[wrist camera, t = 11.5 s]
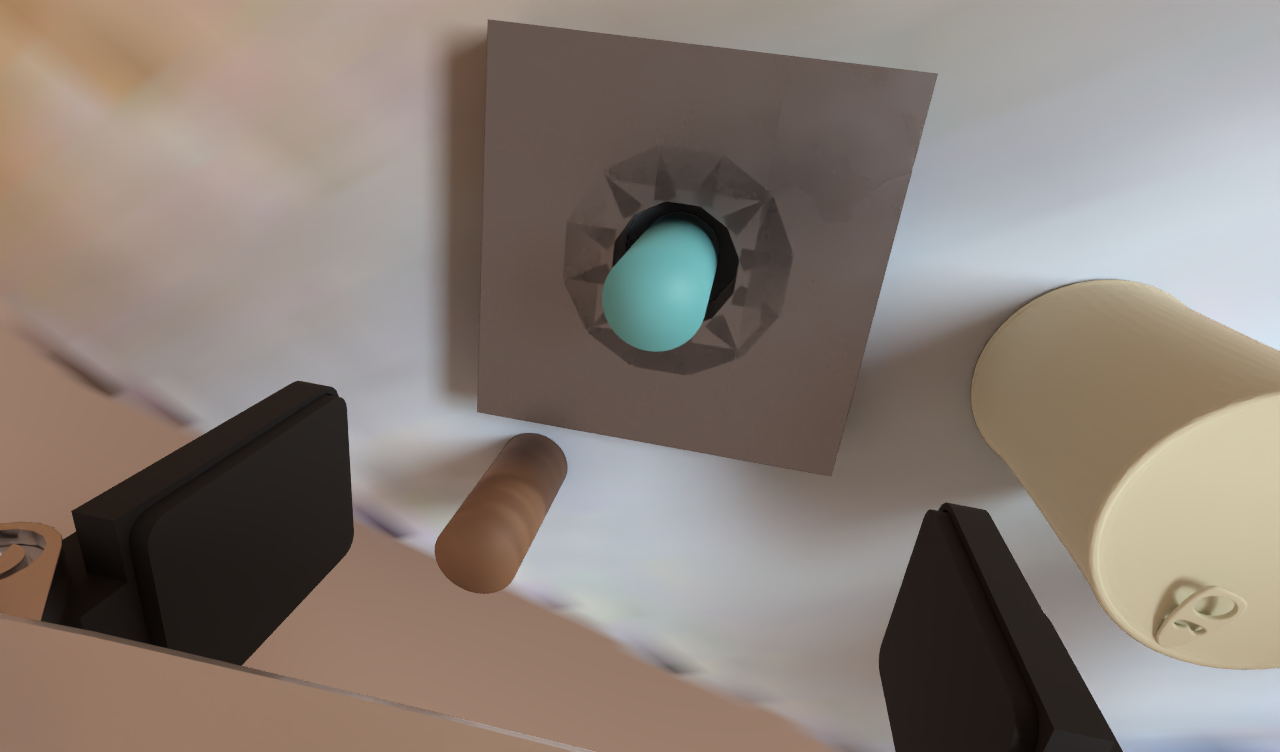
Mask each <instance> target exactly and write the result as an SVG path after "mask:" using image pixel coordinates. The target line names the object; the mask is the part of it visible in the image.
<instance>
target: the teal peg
mask: <svg viewBox="0 0 1280 752" xmlns="http://www.w3.org/2000/svg"><path fill="white" fill-rule="evenodd" d="M718 260H719V244H718V240H717V237H716V235H715V233H714V231H713V230H712V228H711V227H710V226H709V225H708V224H707V223H706V222H705V221H704V220H702V219H701V218H699V217H697V216H695V215H693V214H689V213H684V212H674V213H669V214H666V215H664V216H662V217H660V218H658V219H657V220H655V221H654V222H653V223H652V224H651V225H650V226H649V227H648V228H647V229H646V231H645V232H644V233H643V234H642V235H641V236H640V237H639V239H638V240H637V241H636V242H635V243H634V244H633V245H632V246H631V248H630V249H629V250H628V251H627V252H626V253H625V254H624V256H623V257H622V258H621V259H620V260H619V261H618V262H617V264H616V265H615V266H614V267H613V268H612V269H611V271H610V273H609V274H608V276H607V278H606V280H605V283H604V286H603V292H602V306H603V311H604V314H605V317H606V320H607V321H608V323H609V325H610V327H611V328H612V330H613V331H614V332H615V333H616V334H617V335H618V336H619V337H620V338H621V339H622V340H623V341H625V342H626V343H628V344H629V345H631V346H633V347H636V348H638V349H641V350H646V351H653V352H660V351H667V350H671V349H674V348H676V347H679V346H681V345H682V344H684V343H686V342H687V341H688V340H690V339H691V338H692V337H693V336H694V335H695V333H696V332H697V331H698V329H699V328H700V326H701V324H702V322H703V319H704V317H705V313H706V309H707V305H708V301H709V297H710V293H711V289H712V285H713V281H714V277H715V273H716V269H717V265H718Z"/></svg>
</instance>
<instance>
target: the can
mask: <svg viewBox="0 0 1280 752" xmlns="http://www.w3.org/2000/svg"><path fill="white" fill-rule="evenodd" d="M971 405H972V410H973V415H974V418H975V422H976V424H977V427H978V429H979V431H980V433H981V434H982V436H983V438H984V439H985V441H986V442H987V443H988V444H989V446H990V447H991V448H992V449H993V450H994V451H995V452H996V453H997V454H998V455H999V456H1000V457H1002V458H1003V459H1004V461H1005V462H1006V463H1007V465H1008V466H1009V467H1010V469H1011V470H1012V472H1013V473H1014V474H1015V476H1016V477H1017V478H1018V480H1019V481H1020V483H1021V484H1022V486H1023V487H1024V488H1025V490H1026V491H1027V493H1028V494H1029V495H1030V497H1031V498H1032V500H1033V501H1034V503H1035V504H1036V506H1037V507H1038V508H1039V510H1040V511H1041V513H1042V514H1043V516H1044V517H1045V519H1046V520H1047V521H1048V523H1049V524H1050V526H1051V527H1052V529H1053V530H1054V532H1055V533H1056V535H1057V536H1058V537H1059V539H1060V540H1061V542H1062V543H1063V545H1064V546H1065V548H1066V549H1067V551H1068V552H1069V554H1070V555H1071V557H1072V558H1073V560H1074V561H1075V563H1076V564H1077V565H1078V567H1079V568H1080V570H1081V571H1082V573H1083V575H1084V576H1085V578H1086V579H1087V581H1088V582H1089V584H1090V586H1091V588H1092V590H1093V592H1094V594H1095V596H1096V598H1097V600H1098V602H1099V603H1100V605H1101V606H1102V608H1103V609H1104V611H1105V612H1106V613H1107V614H1108V616H1109V617H1110V618H1111V619H1112V620H1113V621H1114V622H1115V623H1116V624H1117V625H1118V626H1119V627H1120V628H1121V629H1122V630H1124V631H1125V632H1126V633H1127V634H1129V635H1130V636H1131V637H1132V638H1134V639H1135V640H1137V641H1139V642H1140V643H1142V644H1144V645H1145V646H1147V647H1149V648H1151V649H1153V650H1155V651H1157V652H1159V653H1161V654H1164V655H1166V656H1169V657H1172V658H1175V659H1178V660H1181V661H1185V662H1189V663H1193V664H1197V665H1201V666H1208V667H1215V668H1223V669H1241V670H1246V669H1270V668H1280V351H1278V350H1276V349H1273V348H1271V347H1269V346H1267V345H1265V344H1263V343H1260V342H1258V341H1256V340H1254V339H1252V338H1250V337H1248V336H1246V335H1244V334H1241V333H1239V332H1237V331H1235V330H1233V329H1231V328H1229V327H1227V326H1225V325H1222V324H1220V323H1218V322H1216V321H1214V320H1212V319H1210V318H1208V317H1206V316H1204V315H1202V314H1200V313H1198V312H1196V311H1194V310H1192V309H1190V308H1188V307H1187V306H1185V305H1184V304H1183V303H1182V302H1181V301H1180V300H1178V299H1176V298H1175V297H1173V296H1172V295H1170V294H1168V293H1166V292H1164V291H1162V290H1160V289H1158V288H1155V287H1153V286H1150V285H1146V284H1143V283H1139V282H1133V281H1127V280H1092V281H1086V282H1080V283H1076V284H1072V285H1068V286H1065V287H1062V288H1059V289H1056V290H1053V291H1051V292H1049V293H1047V294H1044V295H1042V296H1040V297H1038V298H1036V299H1035V300H1033V301H1031V302H1030V303H1028V304H1027V305H1025V306H1024V307H1022V308H1020V309H1019V310H1018V311H1017V312H1015V313H1014V314H1013V315H1012V316H1011V317H1009V318H1008V319H1007V320H1006V321H1005V322H1004V323H1003V324H1002V325H1001V326H1000V327H999V328H998V330H997V331H996V332H995V333H994V335H993V336H992V337H991V338H990V340H989V341H988V343H987V344H986V346H985V348H984V349H983V351H982V353H981V355H980V357H979V359H978V362H977V364H976V367H975V371H974V374H973V379H972V385H971Z"/></svg>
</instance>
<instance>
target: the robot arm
mask: <svg viewBox="0 0 1280 752" xmlns="http://www.w3.org/2000/svg"><path fill="white" fill-rule="evenodd" d="M72 515H73V520H74V524H75V528H76V532H75V533H73V534H72V535H70V536H68V537H67V538H65V539H63V540H62V536H61V534H60V533H59V532H58V531H57V530H56V529H55V528H54V527H51V526H48V525H44V524H41V523H32V522H13V523H2V524H0V752H597V751H593V750H588V749H585V748H580V747H576V746H572V745H568V744H564V743H560V742H556V741H552V740H548V739H543V738H539V737H535V736H531V735H527V734H523V733H519V732H515V731H511V730H507V729H502V728H499V727H494V726H490V725H486V724H482V723H478V722H474V721H470V720H466V719H462V718H458V717H453V716H449V715H445V714H441V713H437V712H433V711H429V710H424V709H420V708H416V707H412V706H408V705H404V704H400V703H395V702H391V701H387V700H383V699H379V698H375V697H371V696H366V695H362V694H358V693H354V692H350V691H345V690H341V689H337V688H333V687H329V686H324V685H320V684H316V683H311V682H307V681H303V680H299V679H295V678H290V677H286V676H282V675H278V674H274V673H269V672H265V671H261V670H257V669H252V668H248V667H244V666H242V665H243V664H244V662H245V661H246V660H247V659H248V658H249V657H250V656H251V655H252V654H253V653H254V652H255V651H256V650H257V649H258V648H259V647H260V646H261V644H262V643H263V642H264V641H265V640H266V639H267V638H268V637H269V636H270V635H271V634H272V633H273V631H275V630H276V628H277V627H278V626H279V625H280V624H281V623H282V622H283V621H284V620H285V619H286V618H287V617H288V616H289V614H291V612H293V610H294V609H295V608H296V607H297V606H298V605H299V604H300V603H301V602H302V601H303V600H304V599H305V598H306V597H307V596H308V594H309V593H310V592H311V591H312V590H313V589H314V588H315V587H316V586H317V585H318V584H319V583H320V582H321V581H322V579H323V578H324V577H325V576H326V575H327V574H328V573H329V572H330V571H331V570H332V569H333V568H334V567H335V566H336V565H337V564H338V563H339V561H340V560H341V559H342V558H343V557H344V556H345V555H346V554H347V552H348V550H349V549H350V547H351V544H352V541H353V536H354V528H353V509H352V492H351V474H350V456H349V439H348V421H347V407H346V403H345V401H344V399H343V398H341V397H339V396H338V393H337V391H336V390H335V389H334V388H333V387H329V386H324V385H318V384H313V383H308V382H302V381H296V382H293V383H291V384H290V385H288V386H286V387H284V388H283V389H281V390H279V391H278V392H276V393H274V394H272V395H271V396H269V397H267V398H266V399H264V400H262V401H260V402H259V403H257V404H255V405H254V406H252V407H250V408H248V409H247V410H245V411H243V412H241V413H240V414H238V415H236V416H235V417H233V418H231V419H229V420H228V421H226V422H224V423H223V424H221V425H219V426H217V427H216V428H214V429H212V430H210V431H209V432H207V433H205V434H204V435H202V436H200V437H198V438H197V439H195V440H193V441H192V442H190V443H188V444H186V445H185V446H183V447H181V448H179V449H178V450H176V451H174V452H173V453H171V454H169V455H168V456H166V457H164V458H162V459H161V460H159V461H157V462H155V463H154V464H152V465H151V466H149V467H147V468H145V469H143V470H142V471H140V472H138V473H136V474H135V475H133V476H131V477H130V478H128V479H126V480H124V481H123V482H121V483H119V484H118V485H116V486H114V487H112V488H111V489H109V490H107V491H106V492H104V493H102V494H100V495H99V496H97V497H95V498H93V499H92V500H90V501H88V502H87V503H85V504H83V505H81V506H80V507H78V508H76V509H74V510H73V511H72ZM879 671H880V676H881V681H882V686H883V691H884V696H885V701H886V706H887V711H888V716H889V721H890V726H891V731H892V736H893V741H894V746H895V751H896V752H1123V751H1122V749H1121V747H1120V745H1119V744H1118V742H1117V740H1116V738H1115V736H1114V735H1113V733H1112V731H1111V729H1110V727H1109V726H1108V724H1107V722H1106V720H1105V718H1104V717H1103V715H1102V713H1101V711H1100V709H1099V708H1098V706H1097V704H1096V702H1095V700H1094V699H1093V697H1092V695H1091V693H1090V691H1089V690H1088V688H1087V686H1086V684H1085V682H1084V681H1083V679H1082V677H1081V675H1080V673H1079V672H1078V670H1077V668H1076V666H1075V664H1074V663H1073V661H1072V659H1071V657H1070V655H1069V654H1068V652H1067V650H1066V648H1065V646H1064V645H1063V643H1062V641H1061V639H1060V637H1059V636H1058V634H1057V632H1056V630H1055V628H1054V626H1053V625H1052V623H1051V621H1050V620H1049V619H1048V618H1047V616H1046V615H1045V614H1044V613H1043V611H1042V609H1041V607H1040V605H1039V604H1038V602H1037V600H1036V598H1035V596H1034V594H1033V593H1032V591H1031V589H1030V587H1029V585H1028V584H1027V582H1026V580H1025V578H1024V576H1023V574H1022V573H1021V571H1020V569H1019V567H1018V565H1017V564H1016V562H1015V560H1014V558H1013V556H1012V554H1011V553H1010V551H1009V549H1008V547H1007V545H1006V544H1005V542H1004V540H1003V538H1002V536H1001V534H1000V533H999V531H998V529H997V527H996V525H995V524H994V522H993V520H992V518H991V516H990V515H989V513H988V512H987V511H986V510H982V509H977V508H972V507H966V506H961V505H956V504H951V503H944V504H942V506H941V507H940V508H939V510H938V511H936V510H931V509H930V510H928V511H927V513H926V514H925V516H924V519H923V522H922V525H921V528H920V531H919V534H918V537H917V540H916V543H915V546H914V549H913V552H912V555H911V558H910V561H909V564H908V567H907V570H906V573H905V576H904V579H903V582H902V585H901V588H900V591H899V594H898V597H897V600H896V603H895V606H894V609H893V612H892V615H891V618H890V621H889V624H888V627H887V630H886V633H885V636H884V639H883V642H882V645H881V648H880V654H879Z"/></svg>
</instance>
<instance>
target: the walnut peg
mask: <svg viewBox="0 0 1280 752" xmlns="http://www.w3.org/2000/svg"><path fill="white" fill-rule="evenodd" d="M566 474H567V461H566V457H565V455H564V453H563V451H562V450H561V448H560V447H559V446H558V445H557V444H556V443H555V442H554V441H552V440H551V439H549V438H547V437H545V436H543V435H540V434H535V433H525V434H520V435H518V436H515V437H514V438H512V439H511V440H510V441H509V442H508V443H507V444H506V446H505V447H504V448H503V450H502V451H501V452H500V454H499V455H498V456H497V458H496V459H495V460H494V462H493V463H492V465H491V466H490V467H489V469H488V470H487V471H486V473H485V474H484V475H483V477H482V478H481V479H480V481H479V482H478V483H477V485H476V486H475V488H474V489H473V490H472V492H471V493H470V494H469V496H468V497H467V498H466V500H465V501H464V502H463V504H462V505H461V507H460V508H459V509H458V511H457V512H456V513H455V515H454V516H453V517H452V519H451V520H450V521H449V523H448V524H447V526H446V527H445V528H444V530H443V531H442V532H441V534H440V535H439V537H438V539H437V541H436V545H435V556H436V560H437V563H438V565H439V567H440V569H441V571H442V572H443V573H444V574H445V576H446V577H447V578H448V579H450V581H452V582H453V583H454V584H456V585H457V586H459V587H461V588H463V589H465V590H467V591H470V592H474V593H483V594H486V593H494V592H497V591H500V590H502V589H504V588H505V587H507V586H508V585H509V584H510V583H511V581H512V580H513V578H514V576H515V575H516V573H517V571H518V569H519V567H520V565H521V563H522V561H523V559H524V557H525V555H526V553H527V551H528V549H529V547H530V545H531V543H532V541H533V539H534V537H535V536H536V534H537V532H538V530H539V528H540V526H541V524H542V522H543V520H544V518H545V516H546V514H547V512H548V510H549V508H550V506H551V504H552V502H553V500H554V498H555V497H556V495H557V493H558V491H559V489H560V487H561V485H562V483H563V481H564V479H565V477H566Z"/></svg>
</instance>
